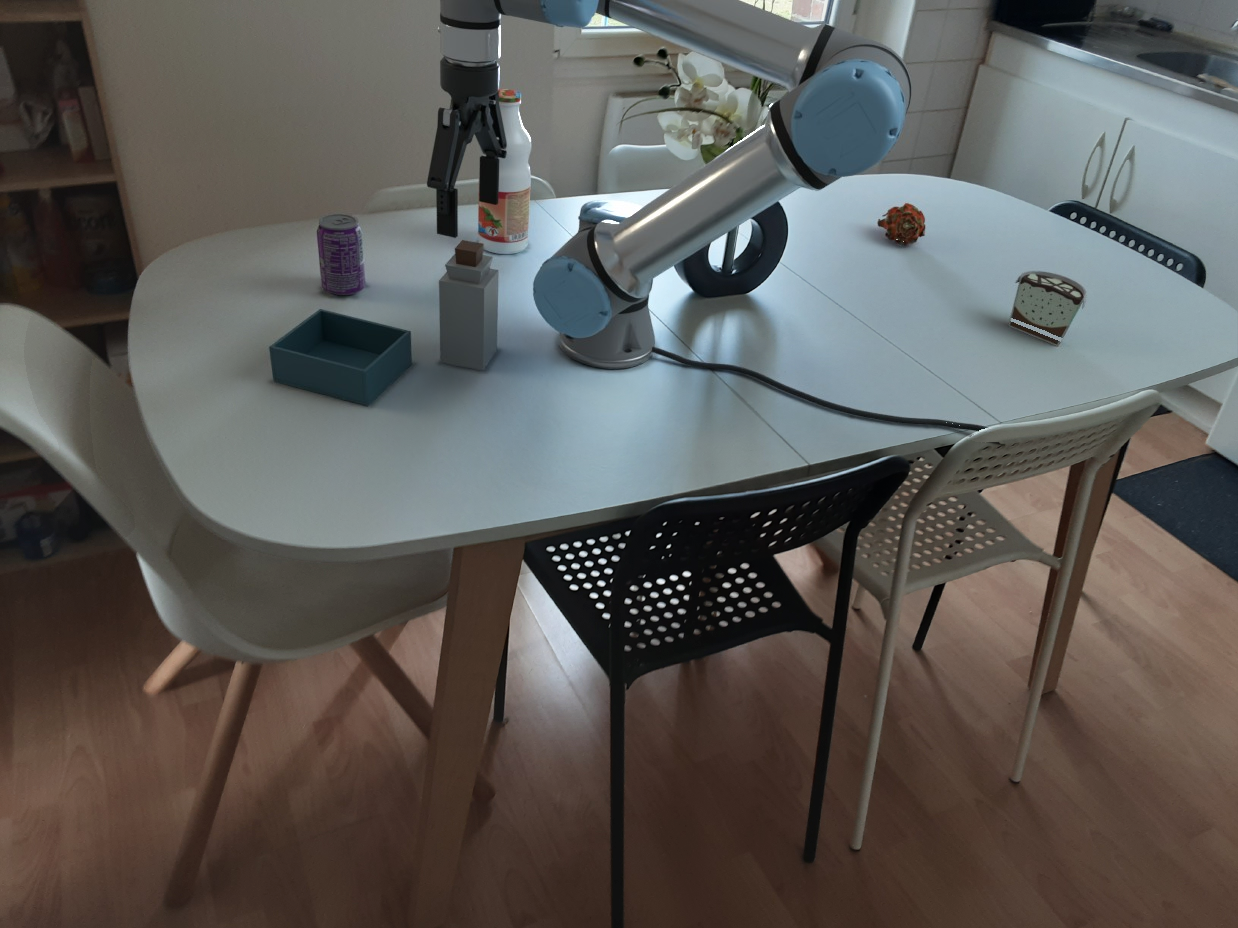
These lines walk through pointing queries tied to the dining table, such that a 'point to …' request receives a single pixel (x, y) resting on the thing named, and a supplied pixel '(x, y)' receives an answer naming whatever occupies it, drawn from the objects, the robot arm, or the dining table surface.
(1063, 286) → the food container
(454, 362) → the perfume bottle
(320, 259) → the beverage can
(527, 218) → the fruit juice
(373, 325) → the case
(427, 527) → the dining table surface
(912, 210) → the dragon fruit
